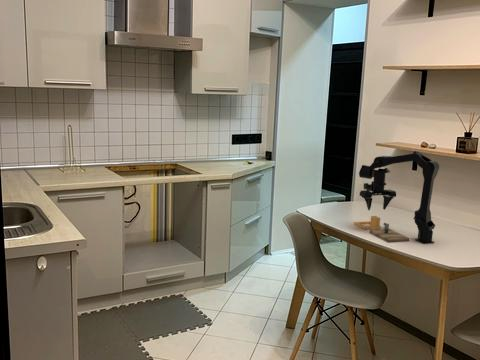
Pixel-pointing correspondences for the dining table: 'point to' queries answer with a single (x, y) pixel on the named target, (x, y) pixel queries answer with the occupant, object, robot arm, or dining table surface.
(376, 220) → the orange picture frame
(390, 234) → the hook plate
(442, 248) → the dining table surface
